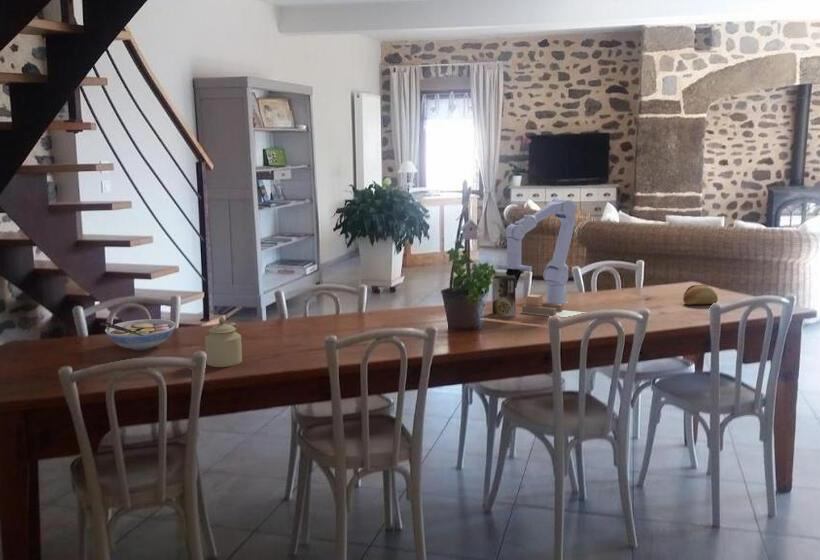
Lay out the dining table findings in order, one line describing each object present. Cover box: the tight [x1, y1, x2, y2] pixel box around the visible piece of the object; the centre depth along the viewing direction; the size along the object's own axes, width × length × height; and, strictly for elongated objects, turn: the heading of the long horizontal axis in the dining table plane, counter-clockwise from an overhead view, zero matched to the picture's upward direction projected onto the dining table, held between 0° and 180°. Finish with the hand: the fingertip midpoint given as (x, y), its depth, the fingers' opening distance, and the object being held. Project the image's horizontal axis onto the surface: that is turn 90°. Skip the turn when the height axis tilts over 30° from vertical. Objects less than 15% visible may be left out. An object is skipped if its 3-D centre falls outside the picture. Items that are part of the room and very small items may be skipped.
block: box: [525, 294, 544, 307], centre depth 300 cm, size 4×5×6 cm
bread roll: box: [682, 284, 719, 306], centre depth 313 cm, size 10×15×8 cm, turn 104°
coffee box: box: [491, 274, 517, 317], centre depth 294 cm, size 9×6×16 cm
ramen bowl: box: [99, 318, 176, 351], centre depth 256 cm, size 25×23×8 cm
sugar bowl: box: [204, 315, 243, 368], centre depth 238 cm, size 15×11×15 cm
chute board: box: [521, 301, 586, 318], centre depth 296 cm, size 12×24×4 cm, turn 59°
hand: (513, 287), depth 304 cm, fingers closed
